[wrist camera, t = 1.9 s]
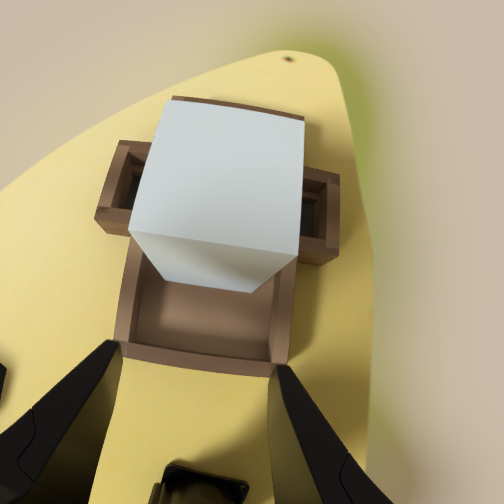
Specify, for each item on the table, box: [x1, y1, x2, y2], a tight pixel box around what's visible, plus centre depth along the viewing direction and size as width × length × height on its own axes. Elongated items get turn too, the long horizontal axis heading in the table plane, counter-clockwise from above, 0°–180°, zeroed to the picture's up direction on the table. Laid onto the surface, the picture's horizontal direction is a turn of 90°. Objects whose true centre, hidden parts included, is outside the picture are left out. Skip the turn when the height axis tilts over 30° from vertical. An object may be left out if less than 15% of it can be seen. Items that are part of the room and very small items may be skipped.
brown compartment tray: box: [94, 96, 340, 378], centre depth 22 cm, size 20×17×3 cm
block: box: [128, 100, 305, 293], centre depth 16 cm, size 6×6×11 cm
